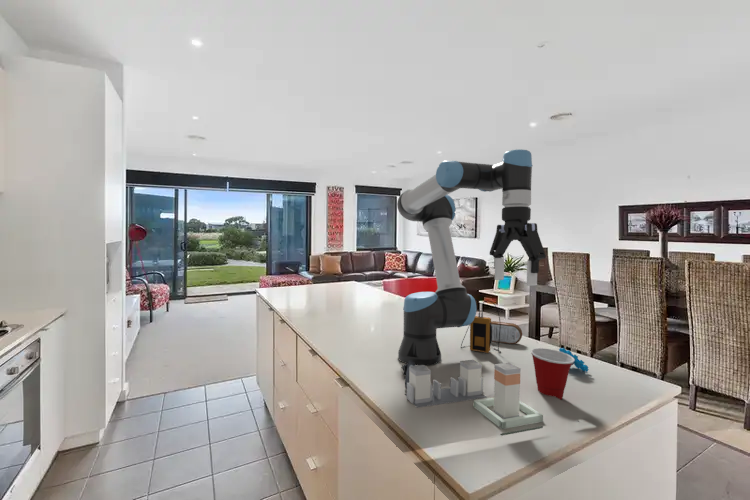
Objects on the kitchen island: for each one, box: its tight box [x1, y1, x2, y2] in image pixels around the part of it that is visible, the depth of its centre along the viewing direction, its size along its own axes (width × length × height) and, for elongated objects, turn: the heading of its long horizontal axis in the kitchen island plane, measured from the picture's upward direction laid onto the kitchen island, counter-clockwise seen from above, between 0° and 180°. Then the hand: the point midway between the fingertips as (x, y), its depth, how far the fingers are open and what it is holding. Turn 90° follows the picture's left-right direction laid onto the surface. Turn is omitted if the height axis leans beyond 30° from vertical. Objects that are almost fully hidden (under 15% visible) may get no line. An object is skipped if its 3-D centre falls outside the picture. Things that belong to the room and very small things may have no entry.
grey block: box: [409, 365, 432, 404], centre depth 92 cm, size 4×4×8 cm
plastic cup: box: [530, 347, 575, 401], centre depth 98 cm, size 11×11×12 cm
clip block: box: [404, 375, 488, 408], centre depth 95 cm, size 8×21×6 cm, turn 108°
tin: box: [491, 320, 523, 345], centre depth 150 cm, size 15×3×8 cm, turn 65°
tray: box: [472, 396, 544, 437], centre depth 85 cm, size 11×11×3 cm
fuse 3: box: [493, 362, 522, 419], centre depth 85 cm, size 4×4×12 cm
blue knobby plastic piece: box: [558, 347, 589, 373], centre depth 118 cm, size 11×6×10 cm
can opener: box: [401, 360, 416, 390], centre depth 104 cm, size 18×7×6 cm, turn 168°
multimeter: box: [460, 298, 502, 354], centre depth 141 cm, size 15×10×20 cm
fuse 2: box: [459, 359, 483, 396], centre depth 97 cm, size 4×4×8 cm
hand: (514, 282), depth 101 cm, fingers open, 13 cm apart
